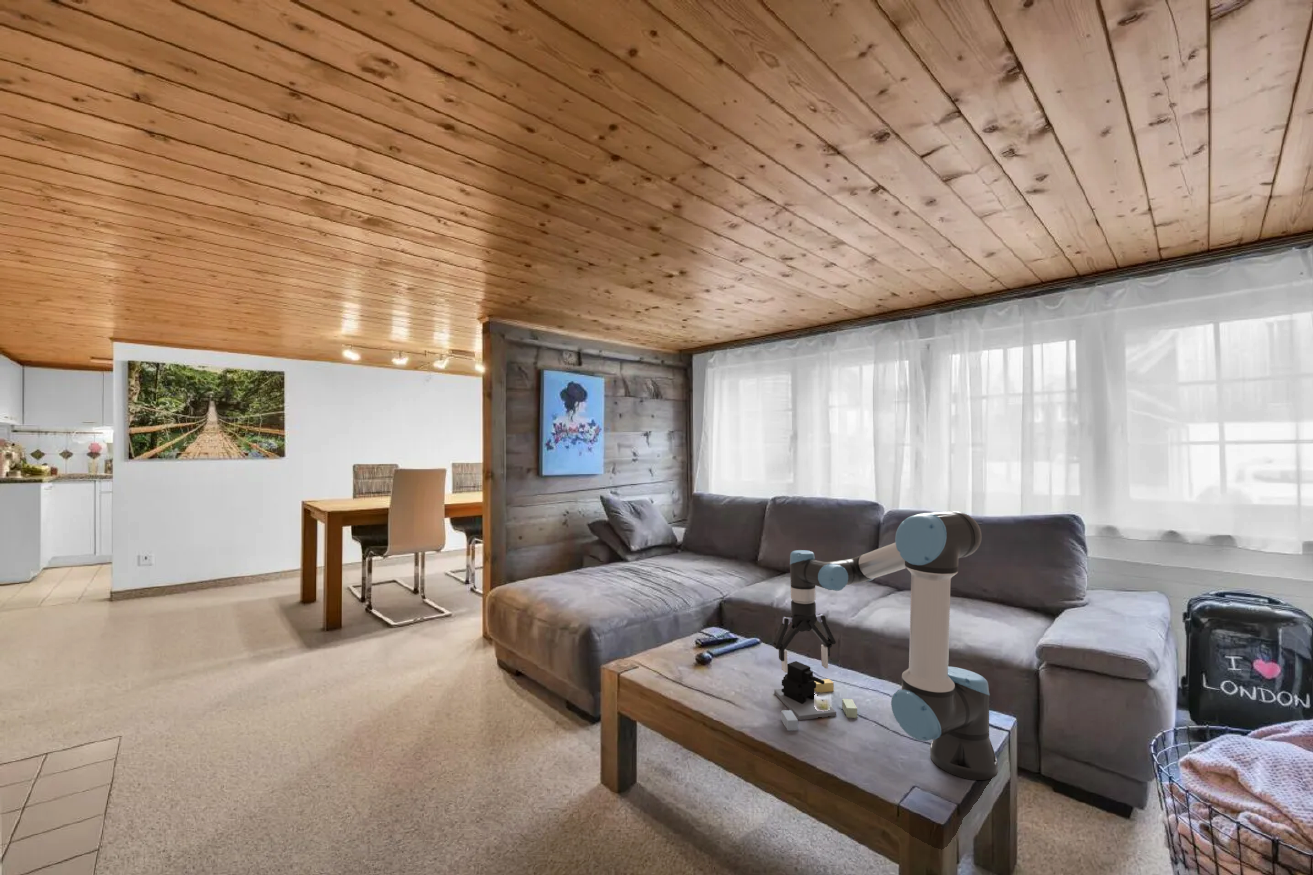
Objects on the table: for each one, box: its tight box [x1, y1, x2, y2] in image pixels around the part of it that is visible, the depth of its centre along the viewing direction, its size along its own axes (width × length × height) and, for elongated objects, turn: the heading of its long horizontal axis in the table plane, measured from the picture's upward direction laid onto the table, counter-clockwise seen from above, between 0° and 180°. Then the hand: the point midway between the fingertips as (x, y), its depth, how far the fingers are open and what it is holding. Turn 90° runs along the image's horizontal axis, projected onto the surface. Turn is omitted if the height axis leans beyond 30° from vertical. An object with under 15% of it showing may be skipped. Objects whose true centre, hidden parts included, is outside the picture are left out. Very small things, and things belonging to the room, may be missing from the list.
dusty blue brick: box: [780, 709, 799, 731], centre depth 161 cm, size 6×3×3 cm, turn 4°
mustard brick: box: [814, 678, 835, 693], centre depth 183 cm, size 6×3×3 cm, turn 102°
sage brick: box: [841, 698, 858, 719], centre depth 168 cm, size 6×3×3 cm, turn 174°
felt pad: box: [773, 688, 837, 721], centre depth 173 cm, size 18×12×1 cm, turn 11°
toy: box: [781, 660, 824, 704], centre depth 174 cm, size 8×14×10 cm, turn 35°
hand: (804, 669), depth 173 cm, fingers open, 13 cm apart
